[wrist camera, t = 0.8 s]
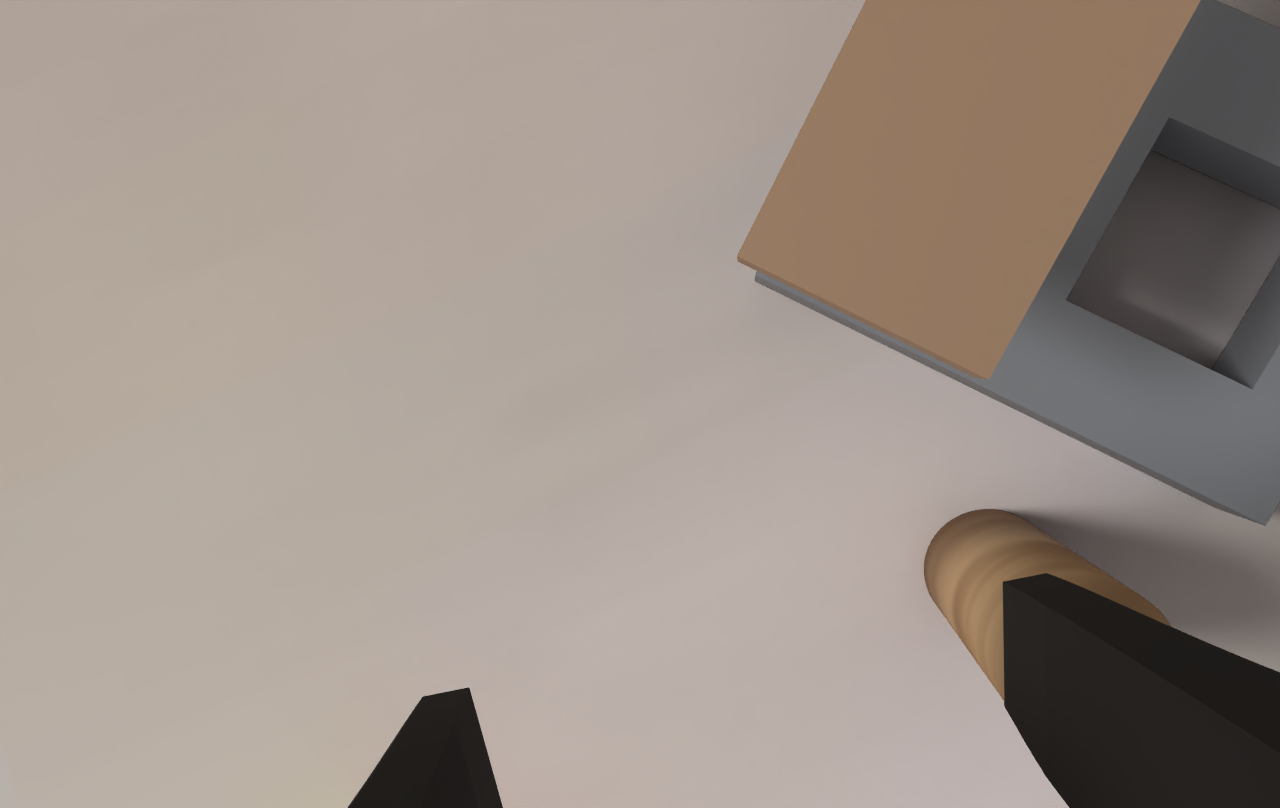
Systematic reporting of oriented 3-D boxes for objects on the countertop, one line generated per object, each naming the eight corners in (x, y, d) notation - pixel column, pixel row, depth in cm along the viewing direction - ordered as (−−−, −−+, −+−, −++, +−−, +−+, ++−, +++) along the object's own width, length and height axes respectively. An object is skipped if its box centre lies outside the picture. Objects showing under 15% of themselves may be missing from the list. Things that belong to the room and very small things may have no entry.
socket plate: (1443, 135, 24) (2072, -52, 13) (1206, 521, 26) (1572, 666, 14) (935, -88, 25) (1087, -439, 14) (742, 292, 27) (737, 256, 16)
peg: (1076, 545, 26) (1217, 634, 18) (1013, 651, 27) (1124, 782, 19) (961, 487, 26) (1051, 550, 19) (901, 593, 27) (964, 698, 19)
